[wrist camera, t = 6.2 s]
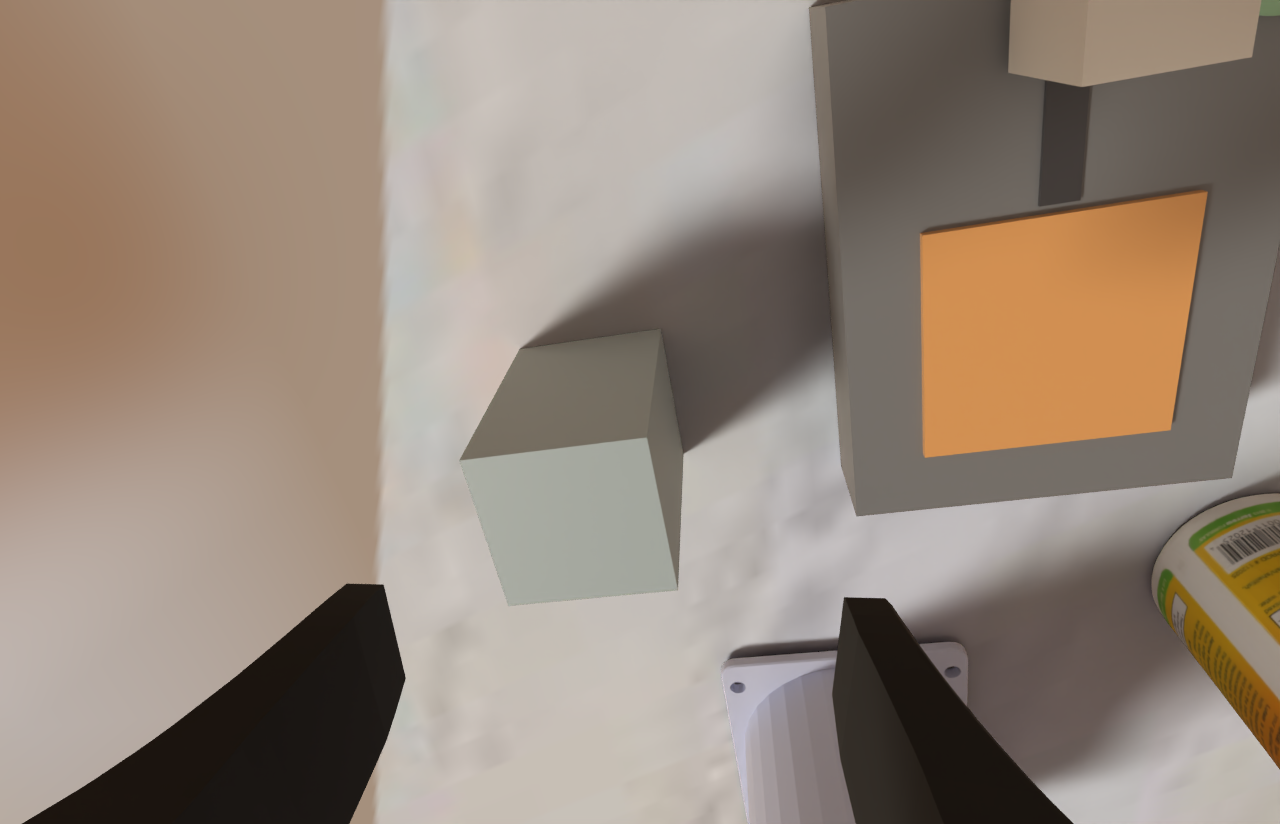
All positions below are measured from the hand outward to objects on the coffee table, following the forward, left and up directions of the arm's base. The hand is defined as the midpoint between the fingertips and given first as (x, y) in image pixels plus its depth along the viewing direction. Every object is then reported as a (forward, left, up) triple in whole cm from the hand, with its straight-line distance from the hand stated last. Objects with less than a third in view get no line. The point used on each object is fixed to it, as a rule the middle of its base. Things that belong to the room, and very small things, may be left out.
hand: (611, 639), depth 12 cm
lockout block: (-1, +2, -10) cm, 11 cm away
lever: (+7, -10, -8) cm, 14 cm away
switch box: (+2, -9, -10) cm, 14 cm away
